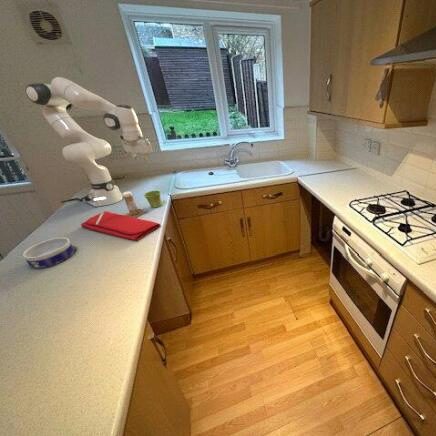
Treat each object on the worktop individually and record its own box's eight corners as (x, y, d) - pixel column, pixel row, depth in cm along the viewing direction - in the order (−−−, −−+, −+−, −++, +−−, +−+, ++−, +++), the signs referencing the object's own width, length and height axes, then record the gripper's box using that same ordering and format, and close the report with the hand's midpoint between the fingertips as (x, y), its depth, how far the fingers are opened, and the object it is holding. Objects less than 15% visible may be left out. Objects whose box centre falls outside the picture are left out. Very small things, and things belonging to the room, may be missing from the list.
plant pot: (157, 209, 148) (153, 196, 143) (144, 208, 149) (140, 195, 145) (167, 203, 156) (163, 190, 151) (155, 202, 157) (150, 190, 153)
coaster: (122, 216, 141) (122, 215, 141) (136, 209, 148) (135, 209, 148) (133, 218, 138) (132, 218, 138) (146, 212, 145) (146, 211, 145)
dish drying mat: (135, 242, 116) (132, 235, 114) (81, 228, 130) (78, 222, 128) (161, 226, 129) (159, 220, 127) (109, 215, 142) (107, 209, 141)
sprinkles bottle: (129, 213, 143) (120, 193, 136) (137, 211, 146) (129, 190, 139) (132, 216, 140) (123, 195, 133) (140, 213, 143) (132, 192, 136)
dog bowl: (21, 272, 99) (12, 260, 96) (43, 251, 112) (36, 240, 109) (64, 264, 102) (57, 253, 99) (81, 245, 115) (75, 234, 112)
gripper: (151, 136, 135) (158, 160, 142) (127, 134, 143) (135, 157, 149) (141, 138, 130) (149, 163, 137) (116, 136, 138) (125, 160, 144)
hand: (141, 160), depth 143 cm, fingers open, 8 cm apart
